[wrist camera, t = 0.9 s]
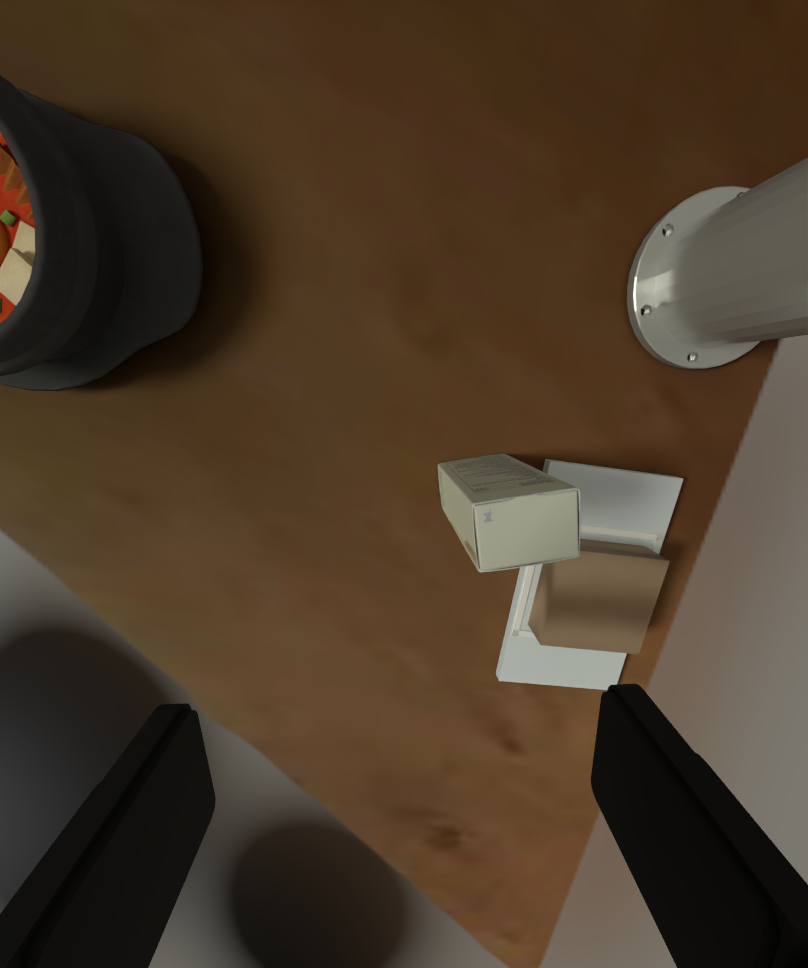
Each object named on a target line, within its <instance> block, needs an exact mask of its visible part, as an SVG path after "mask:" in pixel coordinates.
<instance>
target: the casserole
mask: <svg viewBox="0 0 808 968" xmlns="http://www.w3.org/2000/svg"><path fill="white" fill-rule="evenodd" d="M202 274H203V259H202V249H201V240H200V234H199V230H198V227H197V223H196V220H195V216H194V213H193V209H192V205H191V203H190V201H189V199H188V197H187V195H186V192H185V190H184V188H183V186H182V184H181V182H180V179H179V177H178V176H177V174H176V173H175V172H174V170H173V169H172V167H171V166H170V164H169V163H168V161H167V160H166V159H165V157H164V156H163V154H162V153H160V152H159V151H158V150H157V149H155V148H154V147H153V146H152V145H150V144H149V143H148V142H147V141H145V140H144V139H143V138H141V137H138V136H135V135H132V134H129V133H126V132H123V131H120V130H117V129H114V128H110V127H106V126H103V125H99V124H95V123H91V122H88V121H84V120H82V119H81V118H79V117H77V116H75V115H73V114H71V113H69V112H67V111H65V110H63V109H61V108H59V107H57V106H55V105H53V104H51V103H49V102H47V101H45V100H43V99H41V98H39V97H37V96H35V95H33V94H31V93H29V92H27V91H24V90H20V89H17V88H16V87H15V86H14V85H13V84H12V83H10V82H9V81H7V80H6V79H5V78H3V77H2V76H1V75H0V383H1V384H3V385H7V386H12V387H17V388H22V389H27V390H35V391H59V390H64V389H69V388H75V387H80V386H83V385H85V384H88V383H90V382H92V381H95V380H97V379H99V378H102V377H104V376H105V375H106V374H108V373H109V372H110V371H112V370H113V369H114V368H116V367H117V366H118V365H119V364H121V363H122V362H123V361H125V360H126V359H127V358H129V357H130V356H131V355H133V354H134V353H135V352H136V351H138V350H139V349H140V348H143V347H145V346H147V345H150V344H152V343H154V342H157V341H159V340H161V339H163V338H165V337H167V336H169V335H171V334H173V333H175V332H177V331H179V330H181V329H183V328H184V327H185V325H186V324H187V323H188V321H189V320H190V319H191V317H192V316H193V315H194V314H195V311H196V308H197V304H198V301H199V298H200V294H201V288H202Z"/></svg>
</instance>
